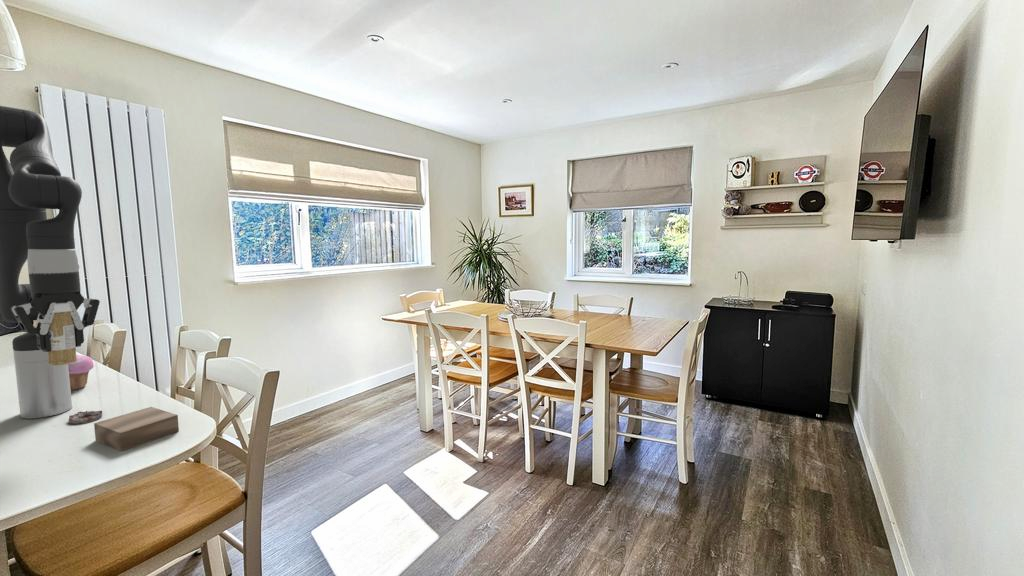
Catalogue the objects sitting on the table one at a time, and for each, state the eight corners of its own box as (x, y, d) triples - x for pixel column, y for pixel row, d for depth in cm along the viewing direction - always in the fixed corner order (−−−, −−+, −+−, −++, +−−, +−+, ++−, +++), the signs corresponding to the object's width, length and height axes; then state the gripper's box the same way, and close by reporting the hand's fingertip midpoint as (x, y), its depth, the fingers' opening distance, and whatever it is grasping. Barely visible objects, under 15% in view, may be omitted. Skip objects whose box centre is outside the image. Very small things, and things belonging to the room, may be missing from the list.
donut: (102, 424, 109) (101, 416, 109) (58, 431, 105) (57, 423, 105) (109, 412, 116) (109, 404, 116) (68, 418, 112) (67, 411, 112)
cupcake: (58, 386, 133) (54, 354, 132) (97, 381, 138) (94, 350, 137) (51, 395, 126) (47, 361, 125) (93, 389, 131) (90, 356, 130)
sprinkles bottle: (42, 365, 95) (35, 303, 93) (63, 360, 99) (57, 300, 98) (63, 366, 95) (57, 304, 93) (84, 360, 99) (78, 301, 98)
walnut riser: (95, 440, 99) (94, 423, 99) (152, 422, 109) (151, 406, 109) (122, 451, 95) (120, 433, 94) (178, 431, 105) (177, 414, 104)
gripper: (88, 267, 103) (94, 340, 105) (-3, 271, 90) (6, 354, 92) (105, 269, 100) (111, 344, 102) (13, 273, 87) (23, 358, 89)
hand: (61, 348), depth 97 cm, fingers closed on sprinkles bottle, 4 cm apart
